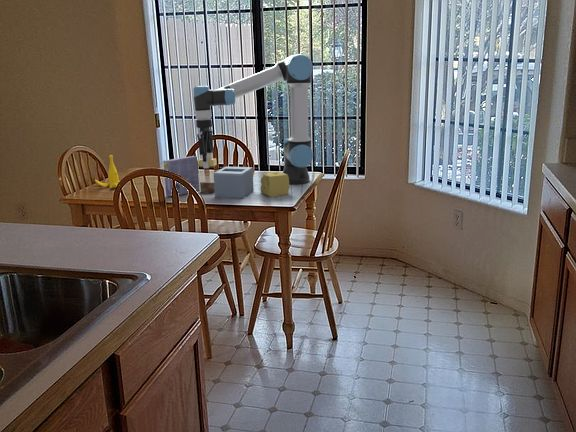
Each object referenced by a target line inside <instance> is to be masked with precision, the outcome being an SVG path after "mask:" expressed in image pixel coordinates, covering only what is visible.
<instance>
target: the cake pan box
mask: <svg viewBox="0 0 576 432" xmlns="http://www.w3.org/2000/svg"><path fill="white" fill-rule="evenodd" d="M162 163H163V164H162V165H163V171H164V170H168V171H171V172H173V173H176V174H179V175H180V176H182V177H184V178H185V179H187V180H188V181H189V182H190V183H191V185H192V186H193V187H194V188H195V189H196V191H195V192H199V191H200V192H201V189H200V181H199V179H200V177H199V165H198V155H192V156H191V155H190V156H185V157H179V158H178V157H177V158H172V159H165V160H163V162H162ZM164 186H165V187H164V188H165V196H166V197H169V198H172V197H171V190H172V180H171V179H168V178H165V177H164ZM176 188H177V190H178V193H179V196H182V195H188V194H189V193H188V191H187V189H186V188H185V187H183V186H182V185H181V184H179V183H177V182H176Z"/></svg>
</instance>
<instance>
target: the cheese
mask: <svg viewBox="0 0 576 432" xmlns="http://www.w3.org/2000/svg"><path fill="white" fill-rule="evenodd" d="M260 183H261V185H260V193H261V194H263V195H266V196H267V197H270V198H273V197H278V196H283V195H289V192H290V184H289V177H288V174H285V173H283V172H281V171H269V172H267V173H265V174H263V175H262V176H261V178H260Z"/></svg>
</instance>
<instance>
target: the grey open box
mask: <svg viewBox="0 0 576 432" xmlns="http://www.w3.org/2000/svg"><path fill="white" fill-rule="evenodd" d="M253 168H254V167H252V166H251V167H249V166H224V167H222V168H220V169H218V170H217V171H214V172H213V181H214V188H215V192H214V198H215V199H235V200H237V199H239V200H243V199H246V198H247V197H248V196H249V195H250V194H252V193H254V191H255V190H254V170H253Z"/></svg>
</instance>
